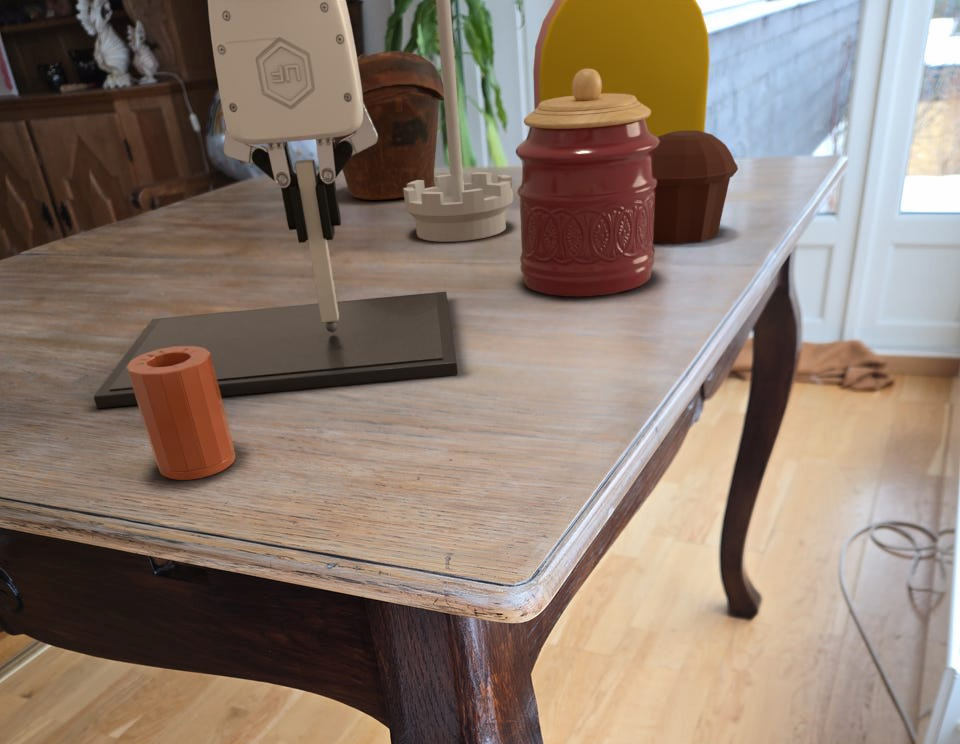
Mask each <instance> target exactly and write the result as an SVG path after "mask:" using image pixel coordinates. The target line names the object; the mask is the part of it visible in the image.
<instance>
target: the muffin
mask: <svg viewBox="0 0 960 744" xmlns="http://www.w3.org/2000/svg"><path fill="white" fill-rule="evenodd" d="M658 139H659V145H658V147H657V148H656V149H655V151H654V152H653V176H654V177H655V178H656V179H657V182H658V183H657V186H656V190H655V212H654V236H653V244H655V243H657V244H658V243H660V244H670V245H678V244H679V245H680V244H687V243H688V244H689V243H702V242H704V241H706V240H707V241H708V240H709V239H713V238H717V237H718V233H719V230H720V225H721V220H722V216H723V212H724V206H725V202H726V198H727V194H728V189H729V184H730V179H731V178H733V177H734V175H735V174H736V173H737V171H738V169H739V167H738V164H737V162H736V161H735V158H734V156H733V154H732V153H731V151H730V149H729V148H728V146H727V144H726V143H724V142H723V141H722V140H721V139H719V138H718V137H716V136H715V135H713V134H711V133H708V132H702V131H693V130H687V131H675V132H670V133H667V134H664V135H661V136H659V137H658Z"/></svg>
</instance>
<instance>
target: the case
mask: <svg viewBox="0 0 960 744" xmlns="http://www.w3.org/2000/svg"><path fill="white" fill-rule="evenodd" d="M357 60H358V66H359V72H360V79H361V85H362V93H363V102H364V104H365V106H366V109H367V111H368V113H369V115H370V118H371V120H372V122H373V124H374V127H375V129H376V131H377V134H378V140H377V142H376V144H374V145H373V146H371V147H369V148H367V149H365V150H363V151H361V152H359V153H357V154H355V155H353V156H351V157H350V158H349V160H348V161H347V163H346V164H345V166H344V167H343V169H342V170H341V171H342V172H343V176H344V179H345V182H346V186H347V190H348V192H349V194H350V195H351V197H353V198H355V199H359V200H367V201H374V200H375V201H376V200H377V201H380V200H381V201H382V200H394V199H401V198H404V190H403V188H407V184H408V183H410V182H413V181H416V180H424V186H425V188H430V187H434V186H435V182H434V176H435V164H436V151H437V139H438V128H439V114H440V113H439V112H440V101H442V102H444V92H443V79H442V76H441V75H440V73H439V71H438V69H437V67H436V66H435V64H433V63H432V62H431V61H429V59H426V58H425V57H423V56H421V55H419V54H416V53H414V52H413V53H412V52H409V51H401V50H389V51H383V52H382V51H381V52H376V53H372V54H369V55H367V54H366V53H362V54H360V55H359V56H357ZM353 133H355V131H354V132H353ZM353 133H351V134H349V135H345V136H341V137H334V138H335V147H336V146H337V144H338V143H339V142H340V140H342V139H345V138H346V137H348V136H350V135H352V134H353Z"/></svg>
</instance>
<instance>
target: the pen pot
mask: <svg viewBox="0 0 960 744" xmlns="http://www.w3.org/2000/svg"><path fill="white" fill-rule="evenodd" d="M127 371H128V374H129V378H130V381H131V384H132V387H133V390H134V394H135V397H136V400H137V403H138V405H137V407H138V409H139V414H140V416H141V419H142V422H143V426H144V430H145V431H146V435H147V438H148V441H149V444H150V447H151V451H152V455H153V457H154V461H155V463H156V465H157V468H158V471H159V473H160V474H161V476H163V477H165V478H167V479H171V480H178V481H188V480H197V479H203V478H207V477H210V476H213V475H215V474H218V473H220V472H223V471H225V470H226V469H228V468H229V467H230V466H232V464H233V463H234V462H235V460H236V452H235V449H234V448H235V446H234V441H233V438H232V433H231V429H230V426H229V425H230V424H229V421H228V417H227V414H226V410H225V405H224V402H223V401H224V400H223V397H221V393H220V389H219V385H218V381H217V377H216V374H215V370H214V366H213V362H212V358H211V354H210V352H209V351H208V350H206V349H205V348H201V347H196V346H175V347H169V348H162V349H158V350H154V351H151V352H148V353H144V354H142V355H140V356H138V357H136V358H134V359H132V360H131V361H130V362H129V364H128V365H127Z"/></svg>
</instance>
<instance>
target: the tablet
mask: <svg viewBox="0 0 960 744" xmlns="http://www.w3.org/2000/svg"><path fill="white" fill-rule="evenodd" d="M337 306H338V312H339V319H338V321H335V322H336V323H337V326H338V327H337V330H336V331H335V332H329V331H328V330H327V329H326V322H324V323H323V322H322V321H321V315H320V309H319V303H318V302H317V303H309V304H296V305H288V306H287V305H286V306H277V307H275V306H274V307H266V308H257V309H255V308H254V309H243V310H235V311H234V310H233V311H224V312H223V311H222V312H214V313H213V312H212V313H202V314H201V313H200V314H192V315H182V316H180V315H179V316H170V317H160V318H152V319H151V320H150V321H149V323H148V324H147V325H146V326H145V328H144V329H143V330H142V332H141V333H140V334H139V336H138V337H137V339H136V340H135V341H134V343H133V344H132V345H131V346H130V348H129V349H128V350H127V352H126V353H125V355H123V357H122V358H121V360H120V361H119V362H118V363H117V365H116V366H115V368H114V369H113V371H111V373H110V374H109V375H108V377H107V378H106V380H105V381H104V382H103V384H102V385H100V387H99V389H98V390H97V392H96V393H95V394H94V395H93V400H94V403H95V405H96V406H95V407H96V408H97V409H98V410H99V409H109V408H118V407H119V408H120V407H130V406H131V407H132V406H138V403H137V400H136V397H135V394H134V390H133V387H132V384H131V381H130V378H129V374H128V371H127V365H128V364H129V362H130V361H131V360H132V359H134V358H136V357H138V356H140V355H142V354H144V353H148V352H151V351H154V350H158V349H162V348H169V347H175V346H196V347H201V348H205V349H206V350H208V351H209V352H210V354H211V358H212V362H213V366H214V370H215V374H216V377H217V381H218V385H219V389H220V393H221V397H222V398H224V397H225V398H226V397H235V396H244V395H254V394H255V395H256V394H265V393H266V394H267V393H276V392H287V391H298V390H307V389H309V390H310V389H318V388H319V389H320V388H329V387H339V386H350V385H360V384H370V383H371V384H372V383H383V382H393V381H402V380H403V381H404V380H412V379H413V380H414V379H424V378H434V377H446V376H454V375H455V376H456V375H458V364H457V363H458V362H457V356H456V350H455V349H456V348H455V342H454V335H453V328H452V322H451V315H450V308H449V301H448V295H447V291H437V292H426V293H417V294H416V293H414V294H406V295H405V294H403V295H393V296H381V297H373V298H363V299H352V300H341V301H340V300H339V301H337Z"/></svg>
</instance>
